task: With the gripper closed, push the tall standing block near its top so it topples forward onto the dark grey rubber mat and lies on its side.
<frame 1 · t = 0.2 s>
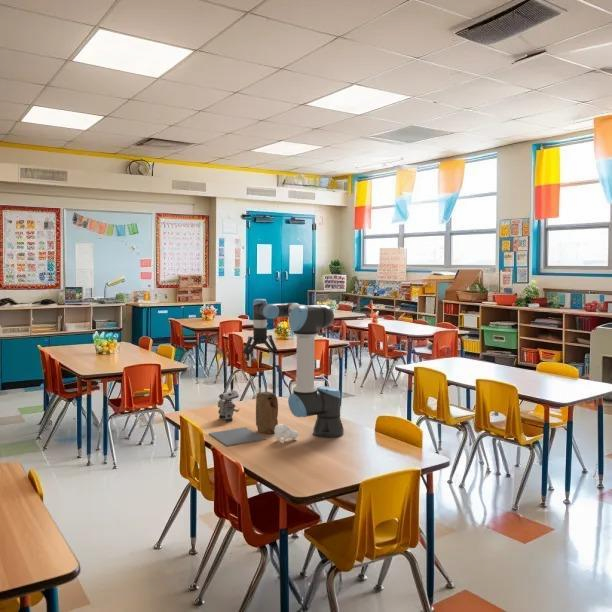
hand: (260, 365, 331), 28 cm above the table, tool pointing down, fingers open, 13 cm apart
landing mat: (236, 436, 292), on the table
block: (267, 432, 301), on the table
figurine: (229, 419, 324), on the table
white lumpy piece: (286, 441, 286), on the table
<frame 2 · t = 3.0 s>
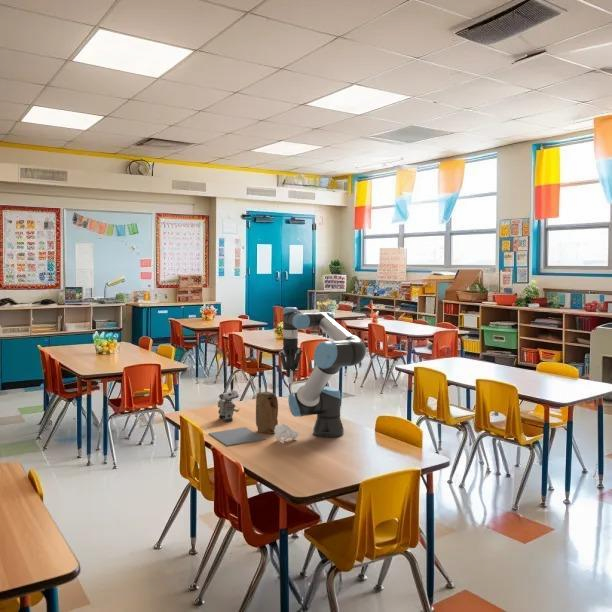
hand: (290, 383, 306), 23 cm above the table, tool pointing down, fingers closed
nothing on the table moved.
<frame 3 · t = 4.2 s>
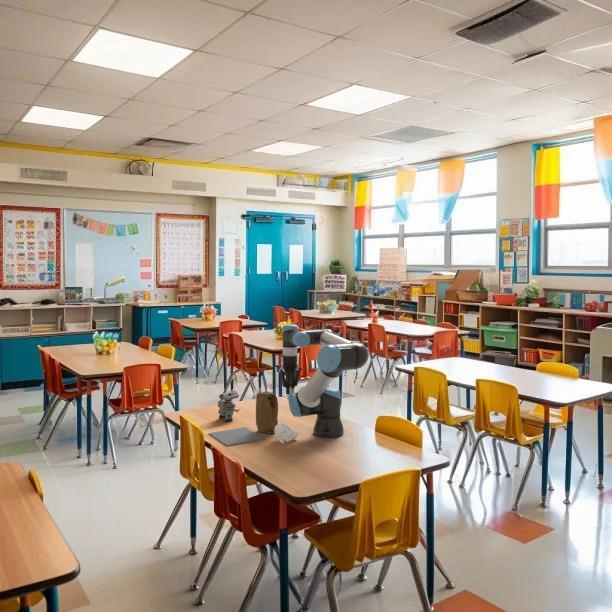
hand: (289, 400, 307), 14 cm above the table, tool pointing down, fingers closed
nothing on the table moved.
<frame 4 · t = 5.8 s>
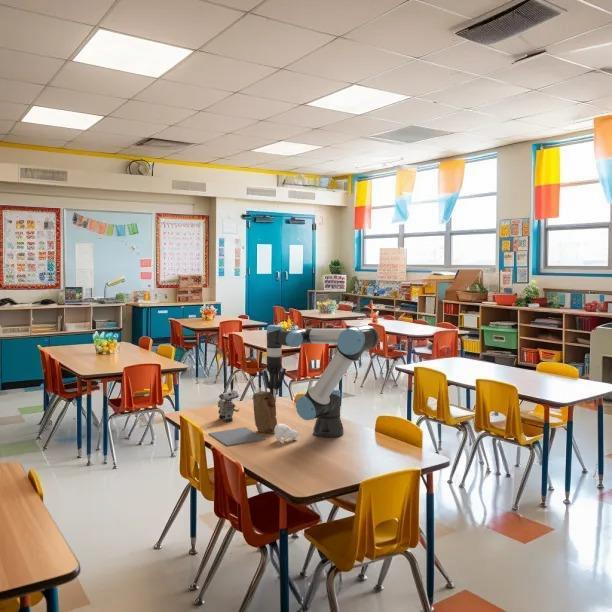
hand: (273, 401, 302), 15 cm above the table, tool pointing down, fingers closed
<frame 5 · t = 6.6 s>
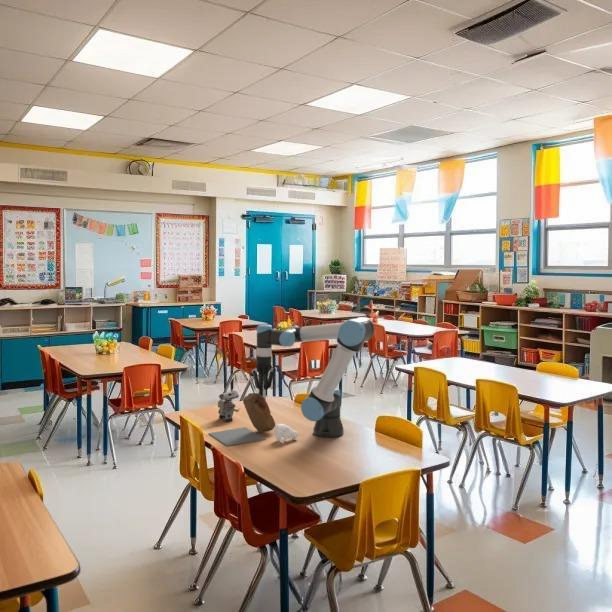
hand: (262, 401, 299), 15 cm above the table, tool pointing down, fingers closed
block: (266, 428, 301), point 2 cm above the table, touching gripper
everything else where it was.
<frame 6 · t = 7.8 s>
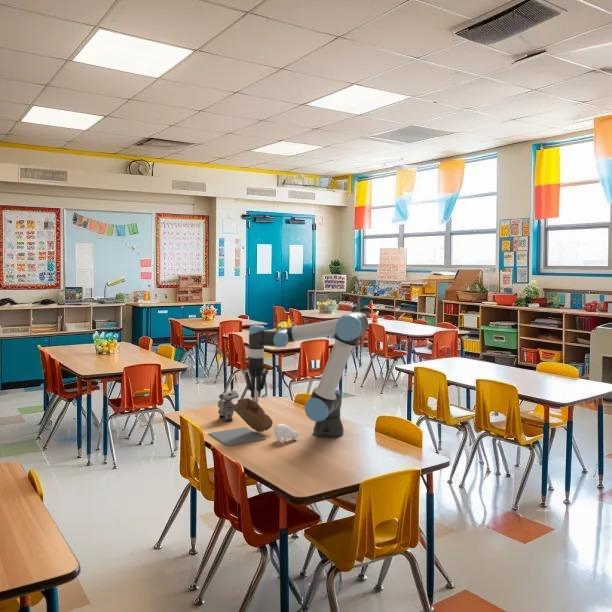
hand: (255, 403, 297), 15 cm above the table, tool pointing down, fingers closed
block: (265, 426, 300), point 3 cm above the table, touching gripper
everything else where it was.
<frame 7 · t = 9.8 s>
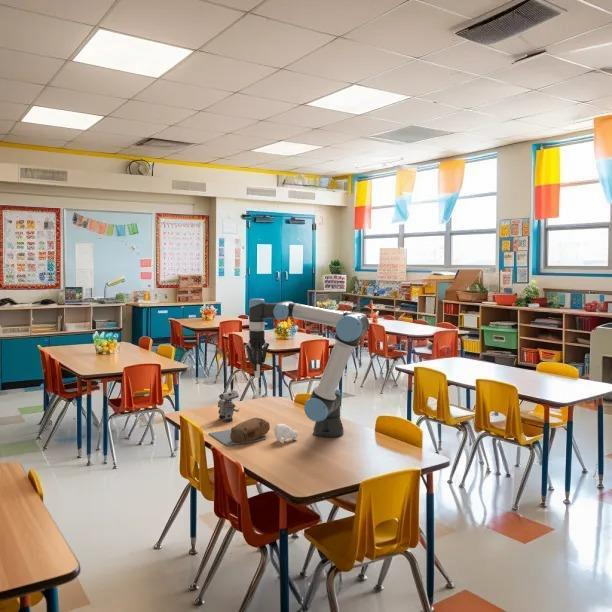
hand: (257, 377, 296), 28 cm above the table, tool pointing down, fingers closed
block: (262, 424, 298), point 4 cm above the table, touching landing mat
everything else where it was.
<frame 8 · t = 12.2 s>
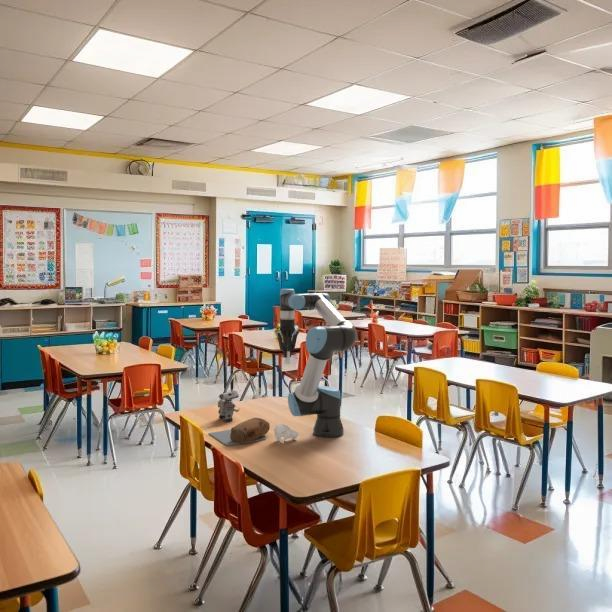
hand: (287, 363, 311), 32 cm above the table, tool pointing down, fingers closed
nothing on the table moved.
at the end: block tilted 91°; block touching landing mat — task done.
